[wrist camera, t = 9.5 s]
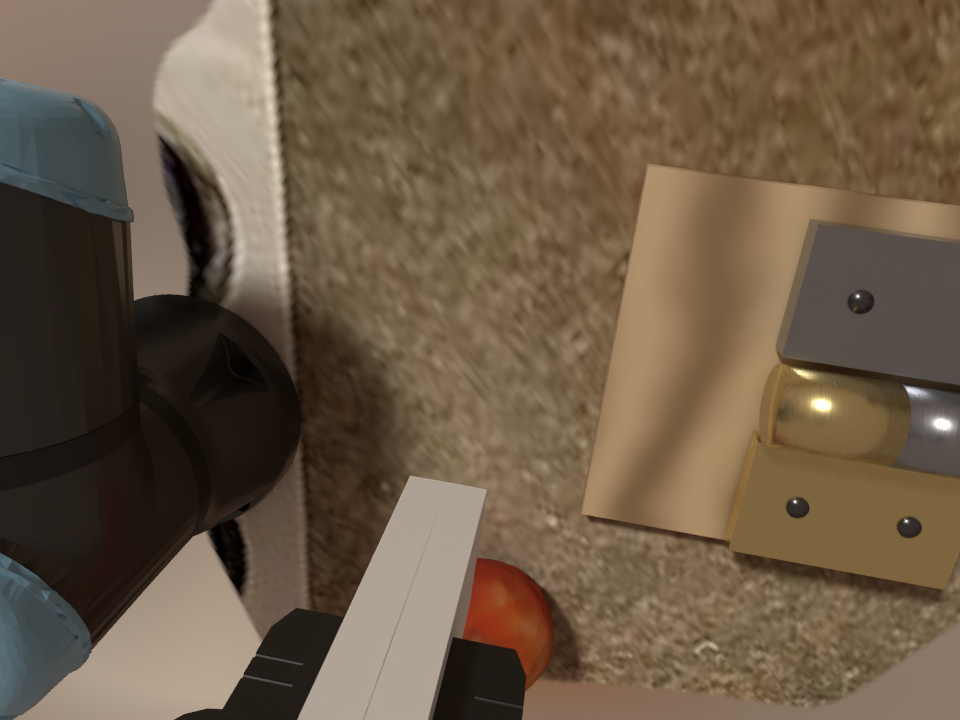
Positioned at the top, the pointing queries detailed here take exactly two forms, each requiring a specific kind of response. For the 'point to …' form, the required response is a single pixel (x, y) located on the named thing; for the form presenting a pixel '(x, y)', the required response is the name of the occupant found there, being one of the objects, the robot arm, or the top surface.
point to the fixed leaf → (885, 323)
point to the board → (712, 336)
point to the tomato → (510, 615)
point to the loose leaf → (842, 483)
